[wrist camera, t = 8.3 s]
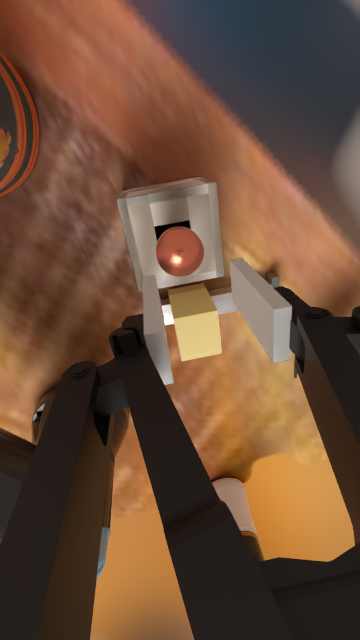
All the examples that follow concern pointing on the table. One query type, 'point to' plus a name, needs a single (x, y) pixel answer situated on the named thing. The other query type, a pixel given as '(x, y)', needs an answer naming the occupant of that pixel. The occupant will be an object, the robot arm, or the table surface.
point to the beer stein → (16, 129)
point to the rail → (218, 299)
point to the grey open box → (165, 208)
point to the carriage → (195, 322)
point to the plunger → (179, 251)
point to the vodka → (239, 511)
